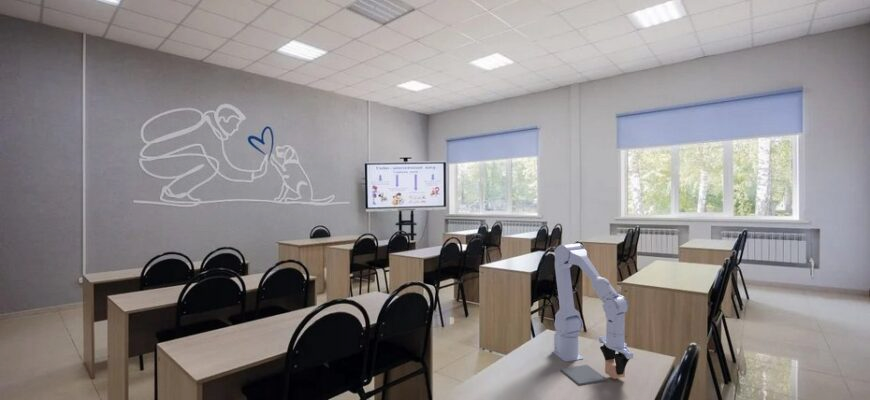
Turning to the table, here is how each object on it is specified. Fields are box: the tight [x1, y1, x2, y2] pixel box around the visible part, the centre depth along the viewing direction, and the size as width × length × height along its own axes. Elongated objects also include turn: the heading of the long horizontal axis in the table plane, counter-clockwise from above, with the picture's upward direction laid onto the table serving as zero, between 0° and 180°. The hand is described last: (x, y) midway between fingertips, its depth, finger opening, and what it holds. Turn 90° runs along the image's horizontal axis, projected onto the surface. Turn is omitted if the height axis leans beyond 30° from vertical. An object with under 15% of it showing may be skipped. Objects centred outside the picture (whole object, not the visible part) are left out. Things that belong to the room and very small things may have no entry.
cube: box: [604, 359, 626, 379], centre depth 137 cm, size 4×4×4 cm
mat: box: [560, 364, 608, 386], centre depth 140 cm, size 11×11×1 cm
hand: (614, 370), depth 137 cm, fingers closed on cube, 4 cm apart
